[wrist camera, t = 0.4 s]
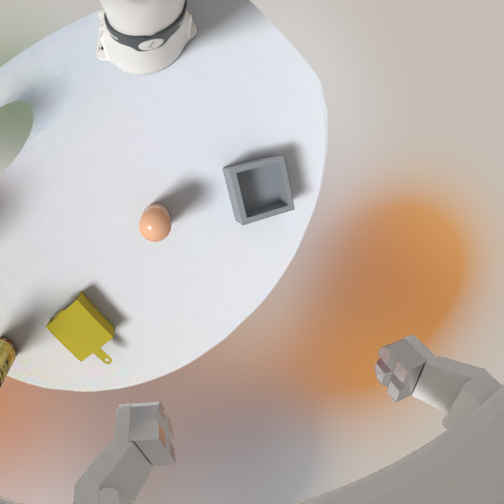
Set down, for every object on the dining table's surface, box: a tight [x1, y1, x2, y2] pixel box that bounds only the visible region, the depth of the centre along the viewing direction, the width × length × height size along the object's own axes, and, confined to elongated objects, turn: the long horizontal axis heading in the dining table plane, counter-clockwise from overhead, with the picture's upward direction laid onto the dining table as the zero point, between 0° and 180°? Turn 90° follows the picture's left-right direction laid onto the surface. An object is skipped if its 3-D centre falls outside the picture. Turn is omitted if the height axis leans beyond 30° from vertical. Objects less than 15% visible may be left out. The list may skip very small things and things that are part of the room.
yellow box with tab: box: [46, 292, 115, 364], centre depth 49 cm, size 16×8×15 cm
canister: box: [139, 204, 171, 242], centre depth 47 cm, size 5×5×8 cm
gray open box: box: [223, 155, 294, 225], centre depth 52 cm, size 10×10×5 cm
